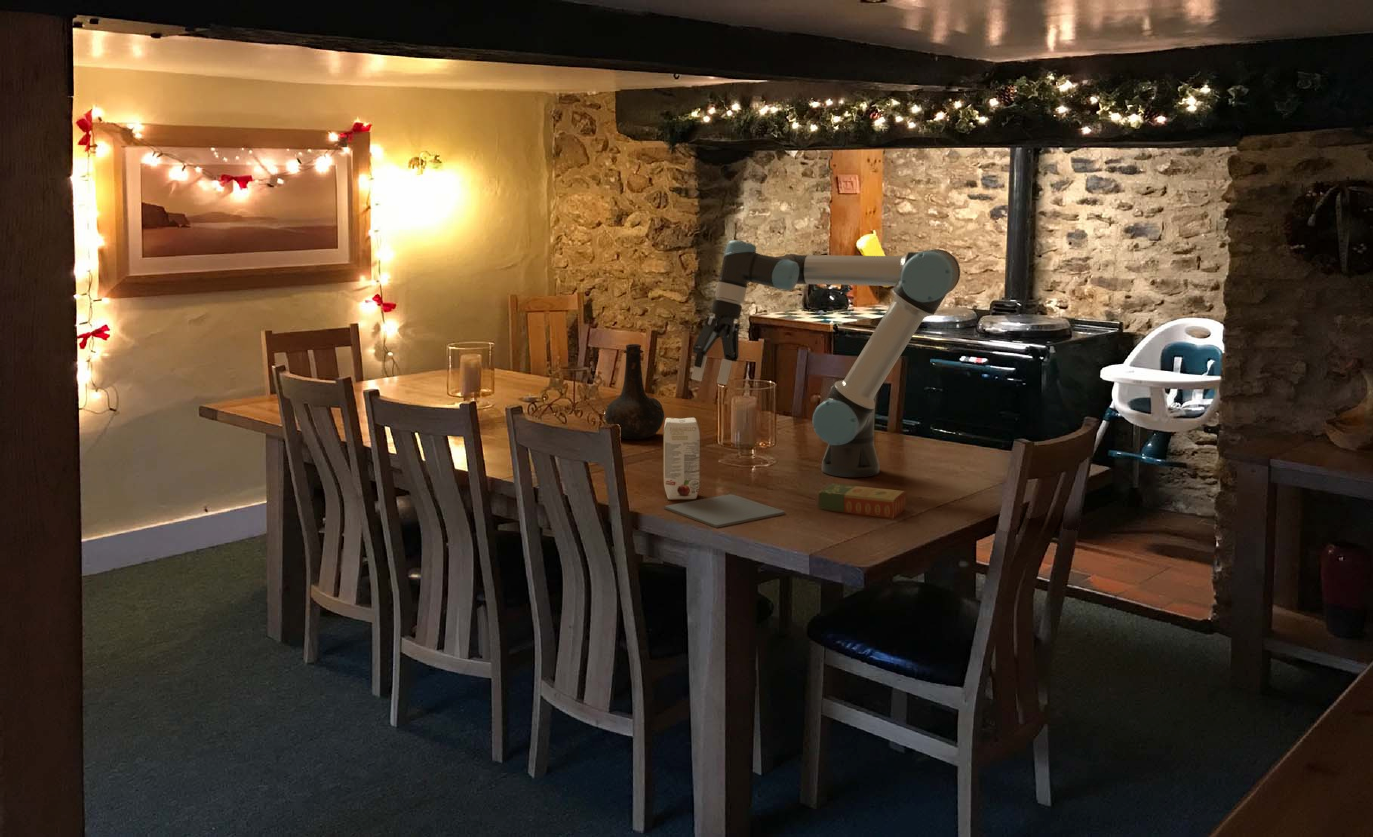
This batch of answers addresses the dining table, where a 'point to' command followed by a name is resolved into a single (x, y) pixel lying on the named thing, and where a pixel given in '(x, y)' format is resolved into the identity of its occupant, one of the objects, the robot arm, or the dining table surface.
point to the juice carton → (681, 458)
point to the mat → (724, 510)
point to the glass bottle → (635, 402)
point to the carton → (862, 500)
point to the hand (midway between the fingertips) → (709, 382)
